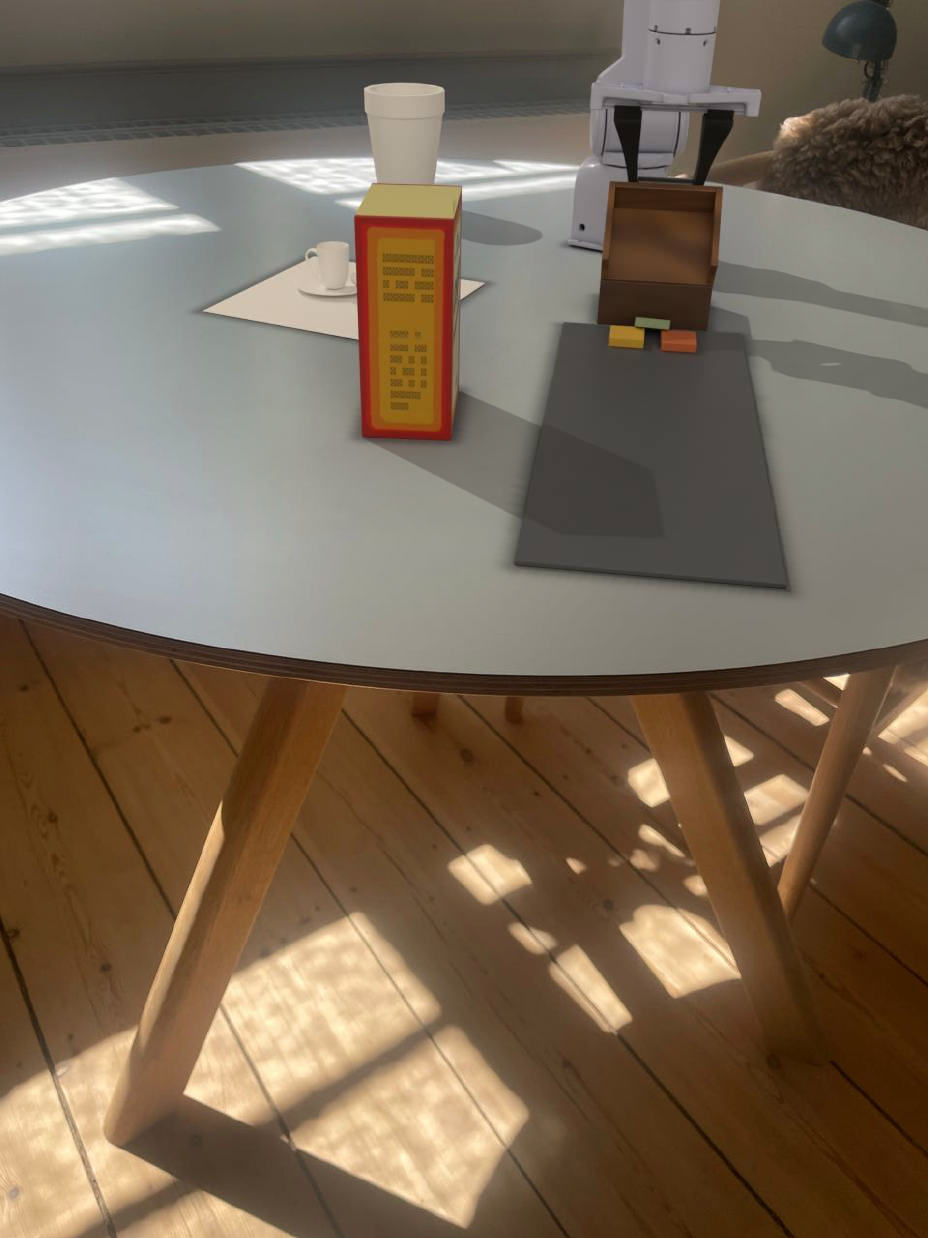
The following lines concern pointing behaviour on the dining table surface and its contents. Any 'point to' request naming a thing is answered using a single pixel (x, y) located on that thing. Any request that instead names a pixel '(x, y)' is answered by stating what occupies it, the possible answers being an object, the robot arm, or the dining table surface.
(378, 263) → the baking soda box
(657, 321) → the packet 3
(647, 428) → the mat
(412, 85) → the foam cup
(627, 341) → the packet
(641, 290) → the brown wooden box panel
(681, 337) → the packet
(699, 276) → the tray
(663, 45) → the robot arm
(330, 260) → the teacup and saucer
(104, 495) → the dining table surface
